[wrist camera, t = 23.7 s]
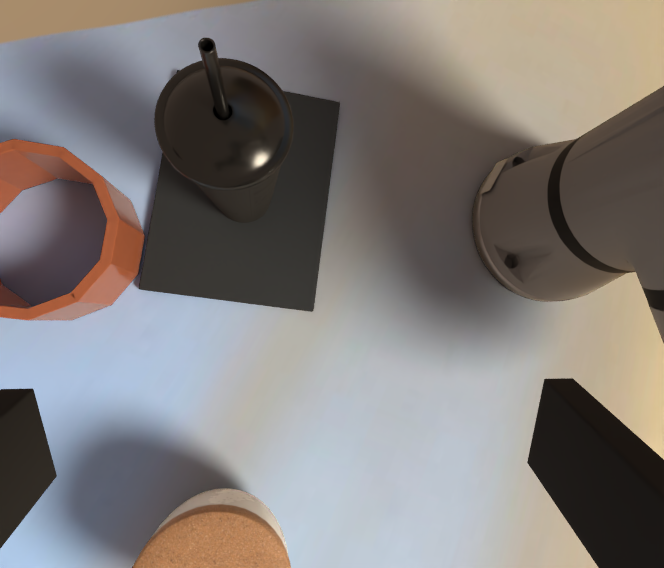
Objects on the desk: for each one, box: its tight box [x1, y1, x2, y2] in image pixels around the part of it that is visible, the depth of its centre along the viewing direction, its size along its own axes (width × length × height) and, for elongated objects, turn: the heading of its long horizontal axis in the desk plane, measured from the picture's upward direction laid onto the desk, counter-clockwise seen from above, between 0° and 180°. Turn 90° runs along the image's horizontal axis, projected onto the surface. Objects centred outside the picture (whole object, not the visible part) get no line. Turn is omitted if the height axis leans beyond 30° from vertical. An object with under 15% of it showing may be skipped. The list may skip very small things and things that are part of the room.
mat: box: [139, 70, 340, 312], centre depth 36 cm, size 15×20×1 cm
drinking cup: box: [154, 38, 294, 223], centre depth 26 cm, size 8×8×20 cm
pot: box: [0, 139, 145, 320], centre depth 31 cm, size 13×13×6 cm
